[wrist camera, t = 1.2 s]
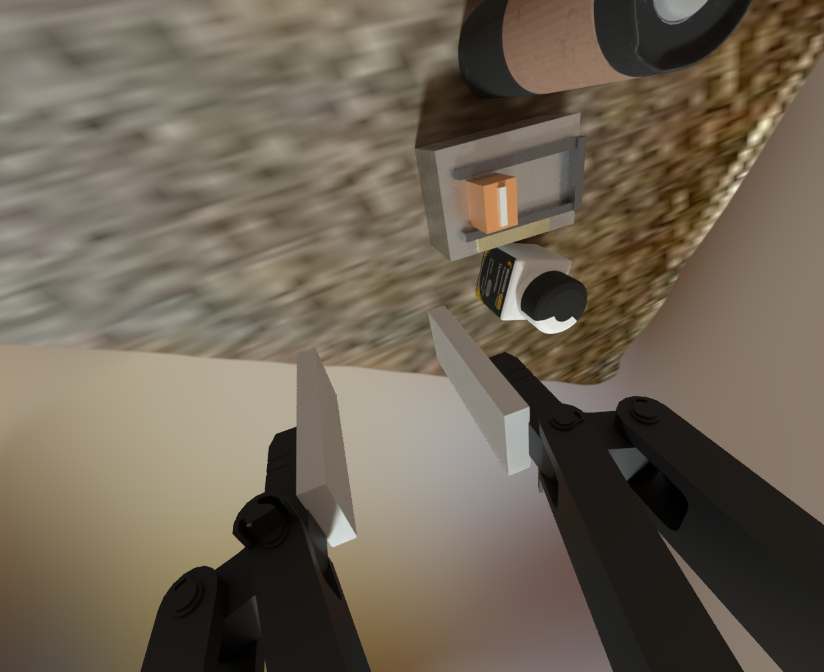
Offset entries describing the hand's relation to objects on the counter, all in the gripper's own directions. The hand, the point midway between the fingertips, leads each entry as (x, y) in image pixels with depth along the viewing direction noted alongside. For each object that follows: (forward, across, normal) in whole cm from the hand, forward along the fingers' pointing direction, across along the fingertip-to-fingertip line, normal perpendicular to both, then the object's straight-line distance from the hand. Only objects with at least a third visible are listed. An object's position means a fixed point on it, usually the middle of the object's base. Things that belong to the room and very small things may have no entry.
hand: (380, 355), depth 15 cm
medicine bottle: (+25, +19, -11) cm, 33 cm away
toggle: (+19, +14, 0) cm, 23 cm away
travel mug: (+25, +19, +11) cm, 33 cm away
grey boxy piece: (+25, +17, 0) cm, 30 cm away
